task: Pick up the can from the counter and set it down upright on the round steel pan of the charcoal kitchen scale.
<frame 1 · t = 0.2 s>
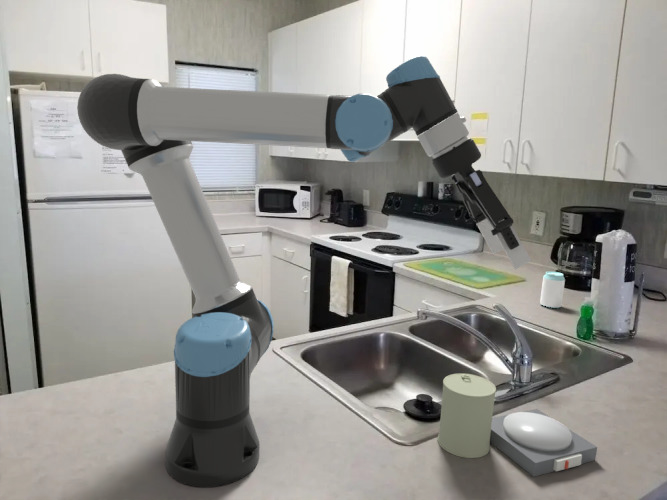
hand: (510, 257, 87), 34 cm above the worktop, tool tilted 35°, fingers open, 13 cm apart
can 2: (550, 306, 181), on the worktop
can: (463, 444, 93), on the worktop
scale: (534, 445, 93), on the worktop
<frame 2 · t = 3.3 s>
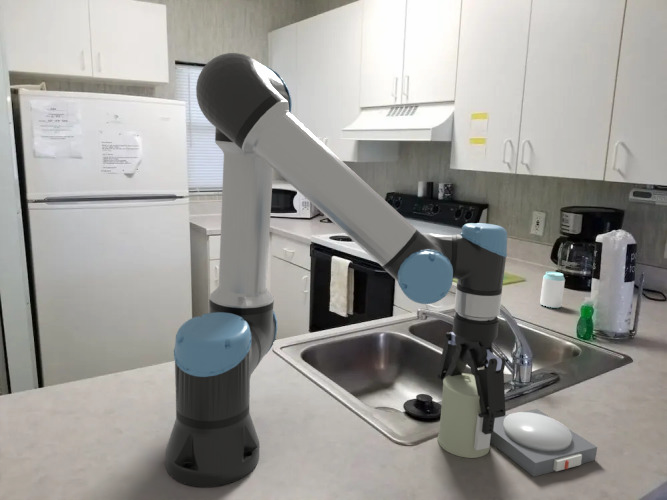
hand: (464, 433, 92), 2 cm above the worktop, tool pointing down, fingers closed on can, 9 cm apart
can: (463, 444, 93), on the worktop, touching gripper
everything else where it was.
when the fingers open (7 cm above the worktop, at t = 8.3 s): can drops 1 cm, resting on scale.
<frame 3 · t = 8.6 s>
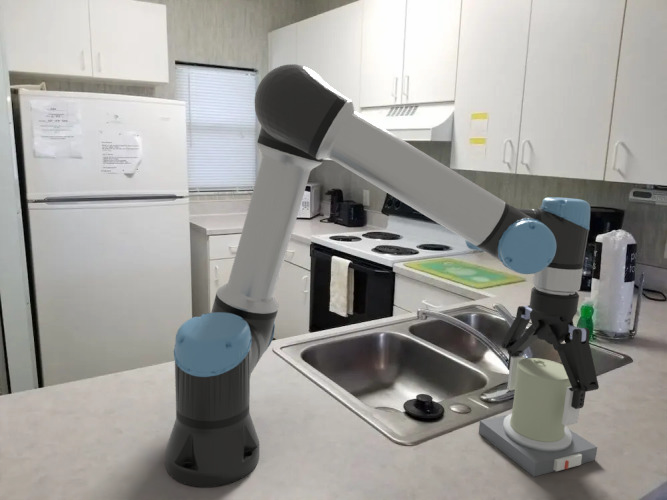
hand: (540, 405, 91), 8 cm above the worktop, tool pointing down, fingers open, 12 cm apart
can: (536, 429, 92), point 3 cm above the worktop, touching scale
everything else where it was.
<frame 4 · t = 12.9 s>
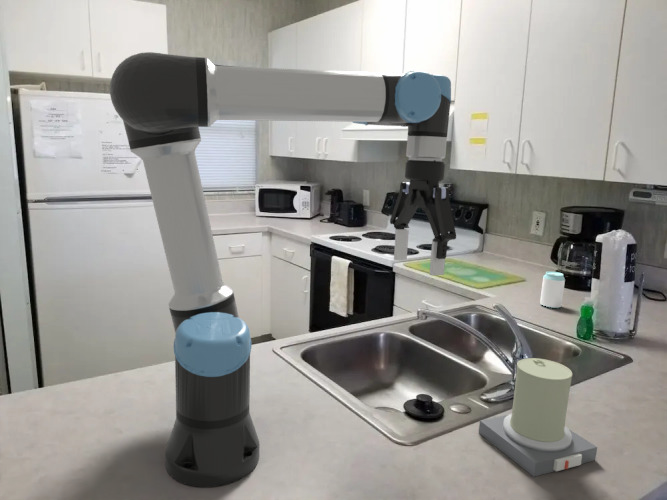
hand: (417, 266, 103), 29 cm above the worktop, tool pointing down, fingers open, 13 cm apart
nothing on the worktop moved.
at the end: can 0.1 cm from the scale (horizontally); can point 3.3 cm above the worktop; can tilted 0° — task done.
